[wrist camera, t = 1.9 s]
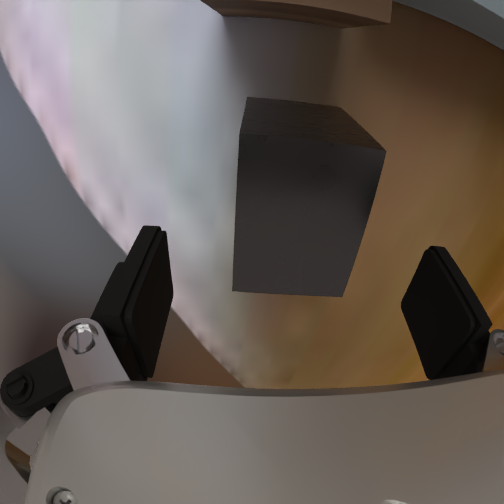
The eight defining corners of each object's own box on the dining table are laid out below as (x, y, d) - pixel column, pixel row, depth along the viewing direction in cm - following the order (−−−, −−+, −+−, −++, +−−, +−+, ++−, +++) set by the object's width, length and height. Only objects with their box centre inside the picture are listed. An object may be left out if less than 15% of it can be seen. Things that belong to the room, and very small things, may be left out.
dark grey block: (247, 97, 15) (239, 133, 10) (340, 107, 15) (386, 151, 10) (240, 209, 19) (232, 291, 14) (320, 215, 20) (342, 296, 14)
